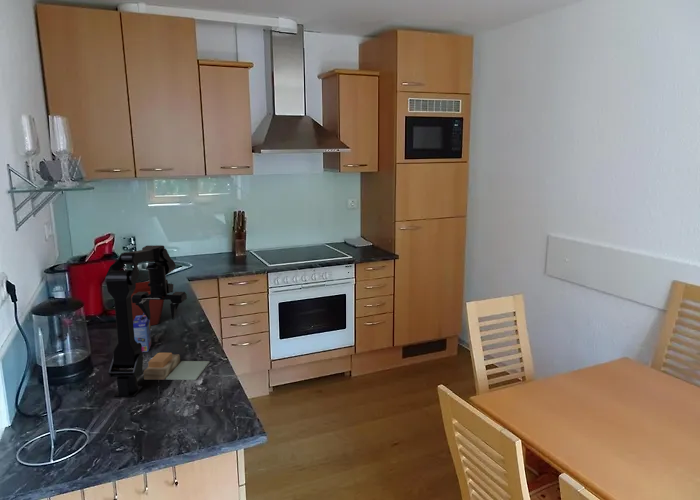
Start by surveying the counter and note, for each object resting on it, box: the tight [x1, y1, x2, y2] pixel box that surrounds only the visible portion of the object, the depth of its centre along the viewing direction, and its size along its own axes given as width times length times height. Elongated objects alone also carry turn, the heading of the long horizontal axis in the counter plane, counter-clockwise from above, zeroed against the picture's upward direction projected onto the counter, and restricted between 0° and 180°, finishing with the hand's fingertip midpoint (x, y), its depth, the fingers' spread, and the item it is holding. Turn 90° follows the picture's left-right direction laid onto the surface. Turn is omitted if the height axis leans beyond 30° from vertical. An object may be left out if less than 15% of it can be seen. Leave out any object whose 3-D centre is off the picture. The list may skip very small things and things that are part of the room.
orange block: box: [147, 352, 173, 368], centre depth 173 cm, size 8×5×2 cm, turn 177°
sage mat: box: [165, 360, 210, 381], centre depth 173 cm, size 14×10×1 cm
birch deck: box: [142, 353, 181, 381], centre depth 173 cm, size 14×7×3 cm, turn 177°
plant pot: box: [131, 280, 165, 327], centre depth 220 cm, size 19×19×17 cm
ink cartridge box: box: [133, 313, 152, 353], centre depth 192 cm, size 10×6×14 cm, turn 15°
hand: (161, 319), depth 183 cm, fingers open, 9 cm apart
